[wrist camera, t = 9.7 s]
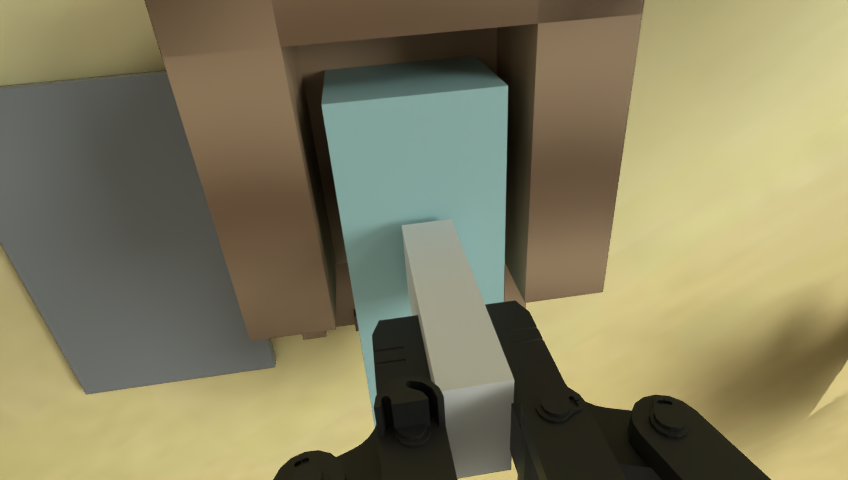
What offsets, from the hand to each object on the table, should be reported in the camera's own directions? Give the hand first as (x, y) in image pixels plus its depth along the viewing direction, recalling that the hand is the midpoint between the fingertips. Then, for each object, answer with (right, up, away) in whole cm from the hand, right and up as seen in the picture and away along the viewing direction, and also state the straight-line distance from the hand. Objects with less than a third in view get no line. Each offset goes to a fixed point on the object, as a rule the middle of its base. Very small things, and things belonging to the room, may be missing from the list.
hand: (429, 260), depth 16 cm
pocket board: (-1, +4, +8) cm, 9 cm away
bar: (-1, 0, +5) cm, 5 cm away
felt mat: (-14, 0, +9) cm, 16 cm away
